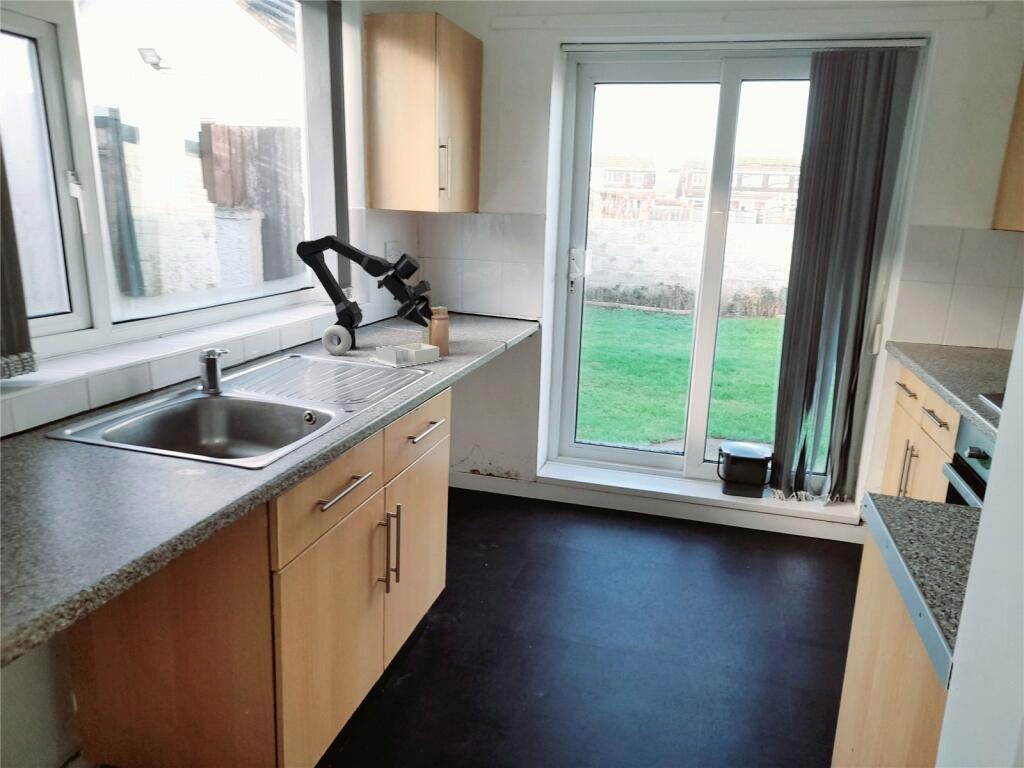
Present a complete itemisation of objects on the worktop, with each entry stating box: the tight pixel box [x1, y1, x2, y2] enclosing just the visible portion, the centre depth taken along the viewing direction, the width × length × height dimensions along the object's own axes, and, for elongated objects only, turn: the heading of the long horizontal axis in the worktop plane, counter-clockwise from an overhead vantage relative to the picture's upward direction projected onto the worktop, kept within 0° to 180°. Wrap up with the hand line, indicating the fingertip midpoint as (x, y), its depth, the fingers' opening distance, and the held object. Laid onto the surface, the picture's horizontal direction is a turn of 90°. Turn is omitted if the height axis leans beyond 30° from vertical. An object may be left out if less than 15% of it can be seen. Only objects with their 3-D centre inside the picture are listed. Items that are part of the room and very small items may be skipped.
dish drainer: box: [369, 342, 443, 367], centre depth 226 cm, size 14×18×5 cm
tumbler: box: [431, 315, 450, 357], centre depth 235 cm, size 6×6×13 cm
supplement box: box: [421, 306, 449, 345], centre depth 252 cm, size 8×5×13 cm, turn 131°
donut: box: [321, 324, 352, 356], centre depth 232 cm, size 10×3×10 cm, turn 80°
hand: (432, 324), depth 235 cm, fingers open, 9 cm apart
